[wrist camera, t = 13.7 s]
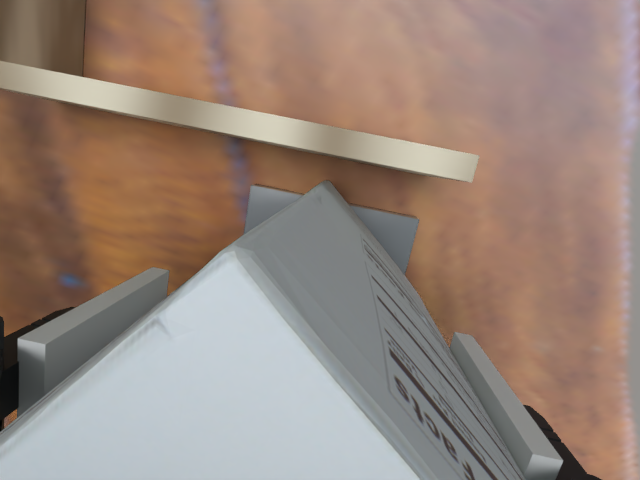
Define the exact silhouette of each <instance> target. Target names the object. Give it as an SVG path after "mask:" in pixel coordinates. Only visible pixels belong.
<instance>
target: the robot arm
mask: <svg viewBox="0 0 640 480" xmlns="http://www.w3.org/2000/svg"><path fill="white" fill-rule="evenodd" d="M168 278H169V270H164V269H160V268H155V267H152V268H150V269H148V270H146V271H144V272H142V273H140V274H139V275H137V276H135V277H133V278H131V279H129V280H127V281H125V282H123V283H121V284H120V285H118V286H116V287H114V288H112V289H110V290H108V291H106V292H104V293H103V294H101V295H99V296H97V297H95V298H93V299H91V300H89V301H87V302H85V303H84V304H82V305H80V306H78V307H70V308H66V309H63V310H59V311H55V312H53V313H51V314H49V315H47V316H46V317H44V318H42V320H38V321H36V322H34V323H32V324H31V325H28V326H26V327H24V328H22V329H20V330H18V331H16V332H14V333H12V334H10V335H8V336H6V337H4V321H3V317H1V316H0V432H1V431H2V430H3V429H4V418H5V417H6V416H8V415H9V414H10V413H12V412H13V411H14V410H16V409H17V418H18V417H19V416H20V415H22V414H23V413H24V412H25V411H26V410H28V409H29V408H30V407H31V406H33V405H34V404H35V403H36V402H37V401H39V400H40V399H41V398H42V397H44V396H45V395H46V394H47V393H48V392H50V391H51V390H52V389H53V388H54V387H56V386H57V385H58V384H59V383H61V382H62V381H63V380H64V379H65V378H67V377H68V376H69V375H70V374H72V373H73V372H74V371H75V370H76V369H78V368H79V367H80V366H81V365H83V364H84V363H85V362H86V361H88V360H89V359H90V358H91V357H92V356H94V355H95V354H96V353H97V352H99V351H100V350H101V349H102V348H104V347H105V346H106V345H107V344H109V343H110V342H111V341H112V340H114V339H115V338H116V337H117V336H119V335H120V334H121V333H122V332H123V331H125V330H126V329H127V328H128V327H130V326H131V325H132V324H133V323H135V322H136V321H137V320H138V319H140V318H141V317H142V316H143V315H145V314H146V313H147V312H148V311H150V310H151V309H152V308H153V307H155V306H156V305H157V304H158V303H160V302H161V301H162V300H163V299H165V298H166V297H167V288H168ZM449 349H450V350H451V352H452V354H453V355H454V357H455V359H456V361H457V362H458V364H459V366H460V367H461V369H462V371H463V373H464V374H465V376H466V378H467V379H468V381H469V383H470V385H471V386H472V388H473V390H474V392H475V393H476V395H477V397H478V399H479V400H480V402H481V404H482V406H483V407H484V409H485V411H486V412H487V414H488V416H489V418H490V419H491V421H492V423H493V424H494V426H495V428H496V430H497V431H498V433H499V435H500V436H501V438H502V440H503V441H504V443H505V445H506V447H507V448H508V450H509V452H510V453H511V455H512V457H513V458H514V460H515V462H516V464H517V465H518V467H519V469H520V470H521V472H522V474H523V476H524V477H525V479H526V480H601V479H599V478H597V477H595V476H593V475H590V474H587V473H586V472H585V470H584V469H583V468H582V466H581V465H580V464H579V463H578V461H577V460H576V459H575V457H574V456H573V455H572V454H571V452H570V451H569V450H568V448H567V447H566V446H565V445H564V443H561V439H560V438H559V437H558V435H557V434H556V433H555V432H553V429H552V428H551V426H550V425H549V424H548V423H547V421H546V420H545V419H544V418H543V417H542V416H541V415H540V414H539V413H537V412H536V411H535V410H534V409H533V408H531V407H530V406H527V405H522V403H521V402H520V401H519V399H518V398H517V396H516V395H515V394H514V392H513V391H512V390H511V388H510V387H509V386H508V384H507V383H506V381H505V380H504V379H503V377H502V376H501V375H500V373H499V372H498V370H497V369H496V368H495V366H494V365H493V364H492V362H491V361H490V359H489V358H488V357H487V355H486V354H485V353H484V351H483V350H482V348H481V347H480V346H479V344H478V343H477V342H476V340H475V339H474V338H473V336H472V335H467V334H462V333H458V332H454V335H453V339H452V342H451V345H450V348H449Z"/></svg>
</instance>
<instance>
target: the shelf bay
mask: <svg viewBox="0 0 640 480" xmlns="http://www.w3.org/2000/svg"><path fill="white" fill-rule="evenodd" d="M85 5H86V0H0V90H5V91H9V92H14V93H19V94H23V95H28V96H33V97H37V98H42V99H47V100H51V101H56V102H61V103H66V104H71V105H76V106H81V107H86V108H91V109H95V110H100V111H105V112H110V113H115V114H120V115H125V116H130V117H135V118H140V119H145V120H150V121H155V122H160V123H165V124H170V125H175V126H180V127H185V128H190V129H195V130H200V131H205V132H210V133H215V134H220V135H225V136H230V137H235V138H240V139H245V140H250V141H255V142H260V143H265V144H270V145H275V146H280V147H285V148H290V149H295V150H300V151H305V152H310V153H315V154H320V155H325V156H330V157H335V158H340V159H344V160H349V161H354V162H359V163H364V164H369V165H374V166H379V167H384V168H389V169H394V170H399V171H404V172H409V173H414V174H419V175H424V176H430V177H437V178H444V179H451V180H458V181H465V182H472V180H473V177H474V173H475V170H476V166H477V163H478V159H479V155H474V154H469V153H464V152H459V151H454V150H449V149H444V148H439V147H434V146H429V145H424V144H419V143H413V142H408V141H403V140H398V139H393V138H388V137H383V136H378V135H373V134H368V133H363V132H358V131H353V130H348V129H343V128H338V127H333V126H327V125H322V124H317V123H312V122H307V121H302V120H297V119H292V118H287V117H282V116H277V115H272V114H267V113H262V112H257V111H252V110H247V109H242V108H236V107H231V106H226V105H221V104H216V103H211V102H206V101H201V100H196V99H191V98H186V97H181V96H176V95H171V94H166V93H161V92H156V91H151V90H145V89H140V88H135V87H130V86H125V85H120V84H115V83H110V82H105V81H100V80H95V79H90V78H85V77H82V75H83V51H84V28H85Z"/></svg>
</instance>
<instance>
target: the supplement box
mask: <svg viewBox="0 0 640 480" xmlns="http://www.w3.org/2000/svg"><path fill="white" fill-rule="evenodd" d="M0 480H526V479H525V477H524V476H523V474H522V472H521V470H520V469H519V467H518V465H517V464H516V462H515V460H514V458H513V457H512V455H511V453H510V452H509V450H508V448H507V447H506V445H505V443H504V441H503V440H502V438H501V436H500V435H499V433H498V431H497V430H496V428H495V426H494V424H493V423H492V421H491V419H490V418H489V416H488V414H487V412H486V411H485V409H484V407H483V406H482V404H481V402H480V400H479V399H478V397H477V395H476V393H475V392H474V390H473V388H472V386H471V385H470V383H469V381H468V379H467V378H466V376H465V374H464V373H463V371H462V369H461V367H460V366H459V364H458V362H457V361H456V359H455V357H454V355H453V354H452V352H451V350H450V349H449V347H448V345H447V343H446V342H445V340H444V338H443V337H442V335H441V333H440V332H439V330H438V328H437V326H436V325H435V323H434V321H433V319H432V317H431V316H430V314H429V312H428V311H427V309H426V307H425V305H424V304H423V301H422V299H421V298H420V296H419V295H418V293H417V292H416V290H415V289H414V287H413V286H412V285H411V283H410V282H409V281H408V279H407V278H406V277H405V275H404V274H403V273H402V271H401V270H400V269H399V267H398V266H397V265H396V264H395V262H394V261H393V260H392V259H391V257H390V256H389V255H388V253H387V252H386V251H385V250H384V248H383V247H382V246H381V245H380V243H379V242H378V241H377V240H376V238H375V237H374V236H373V234H372V233H371V232H370V231H369V229H368V228H367V227H366V226H365V224H364V223H363V222H362V221H361V220H360V218H359V217H358V216H357V215H356V213H355V212H354V211H353V210H352V208H351V207H350V206H349V205H348V203H347V202H346V201H345V200H344V198H343V197H342V196H341V195H340V193H339V192H338V191H337V190H336V188H335V187H334V186H333V185H332V183H331V182H330V181H329V180H325V181H323V182H321V183H319V184H318V185H317V186H315V187H314V188H312V189H311V190H310V191H308V192H307V193H306V194H305V195H303V196H302V197H301V198H299V199H298V200H297V201H295V202H294V203H292V204H290V205H288V206H287V207H285V208H284V209H282V210H281V211H279V212H278V213H276V214H275V215H273V216H272V217H270V218H269V219H267V220H266V221H264V222H263V223H261V224H260V225H258V226H256V227H255V228H253V229H252V230H250V231H249V232H247V233H246V234H244V235H243V236H241V237H240V238H238V239H237V240H236V241H234V242H233V243H231V244H230V245H229V246H227V247H226V248H224V249H223V250H222V251H220V252H219V253H218V254H217V255H216V256H215V257H214V258H213V259H212V260H211V261H210V262H209V263H208V264H206V265H205V266H204V267H203V268H202V269H201V270H200V271H199V272H198V273H196V274H195V275H194V276H192V277H191V278H190V279H189V280H187V281H186V282H185V283H184V284H182V285H181V286H180V287H179V288H177V289H176V290H175V291H174V292H172V293H171V294H170V295H169V296H167V297H166V298H165V299H163V300H162V301H161V302H160V303H158V304H157V305H156V306H155V307H153V308H152V309H151V310H150V311H148V312H147V313H146V314H145V315H143V316H142V317H141V318H140V319H138V320H137V321H136V322H135V323H133V324H132V325H131V326H130V327H128V328H127V329H126V330H125V331H123V332H122V333H121V334H120V335H119V336H117V337H116V338H115V339H114V340H112V341H111V342H110V343H109V344H107V345H106V346H105V347H104V348H102V349H101V350H100V351H99V352H97V353H96V354H95V355H94V356H92V357H91V358H90V359H89V360H88V361H86V362H85V363H84V364H83V365H81V366H80V367H79V368H78V369H76V370H75V371H74V372H73V373H72V374H70V375H69V376H68V377H67V378H65V379H64V380H63V381H62V382H61V383H59V384H58V385H57V386H56V387H54V388H53V389H52V390H51V391H50V392H48V393H47V394H46V395H45V396H44V397H42V398H41V399H40V400H39V401H37V402H36V403H35V404H34V405H33V406H31V407H30V408H29V409H28V410H26V411H25V412H24V413H23V414H22V415H20V416H19V417H18V418H17V419H15V420H14V421H13V422H12V423H11V424H9V425H8V426H7V427H6V428H4V429H3V430H2V431H1V432H0Z"/></svg>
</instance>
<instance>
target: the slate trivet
mask: <svg viewBox="0 0 640 480" xmlns="http://www.w3.org/2000/svg"><path fill="white" fill-rule="evenodd" d="M303 195H305V194H303V193H298V192H293V191H288V190H283V189H278V188H273V187H268V186H264V185H259V184H254V185H251V189H250V196H249V203H248V209H247V216H246V222H245V229H244V234H246V233H247V232H249V231H250V230H252V229H253V228H255V227H256V226H258V225H260V224H261V223H263V222H264V221H266V220H267V219H269V218H270V217H272V216H273V215H275V214H276V213H278V212H279V211H281V210H282V209H284V208H285V207H287V206H288V205H290V204H292V203H294V202H295V201H297V200H298V199H299V198H301V197H302V196H303ZM348 205H349V206H350V207H351V208H352V210H353V211H354V212H355V213H356V215H357V216H358V217H359V218H360V220H361V221H362V222H363V223H364V224H365V226H366V227H367V228H368V229H369V231H370V232H371V233H372V234H373V236H374V237H375V238H376V240H377V241H378V242H379V243H380V245H381V246H382V247H383V248H384V250H385V251H386V252H387V253H388V255H389V256H390V257H391V259H392V260H393V261H394V262H395V264H396V265H397V266H398V267H399V269H400V270H401V271H402V273H403V274H404V275H405V272H406V268H407V265H408V261H409V257H410V253H411V249H412V246H413V242H414V238H415V234H416V230H417V227H418V223H419V219H418V218H417V217H415V216H410V215H405V214H400V213H395V212H390V211H385V210H381V209H376V208H371V207H366V206H361V205H356V204H351V203H348Z"/></svg>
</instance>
